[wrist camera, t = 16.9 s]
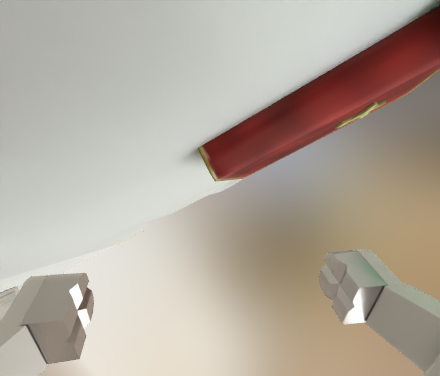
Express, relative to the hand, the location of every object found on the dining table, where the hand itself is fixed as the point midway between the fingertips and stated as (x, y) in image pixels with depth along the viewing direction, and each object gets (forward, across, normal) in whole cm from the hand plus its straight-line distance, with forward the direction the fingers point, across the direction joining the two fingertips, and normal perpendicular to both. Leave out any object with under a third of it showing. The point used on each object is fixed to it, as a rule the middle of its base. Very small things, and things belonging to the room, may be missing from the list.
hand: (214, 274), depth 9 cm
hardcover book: (+20, +12, +2) cm, 23 cm away
